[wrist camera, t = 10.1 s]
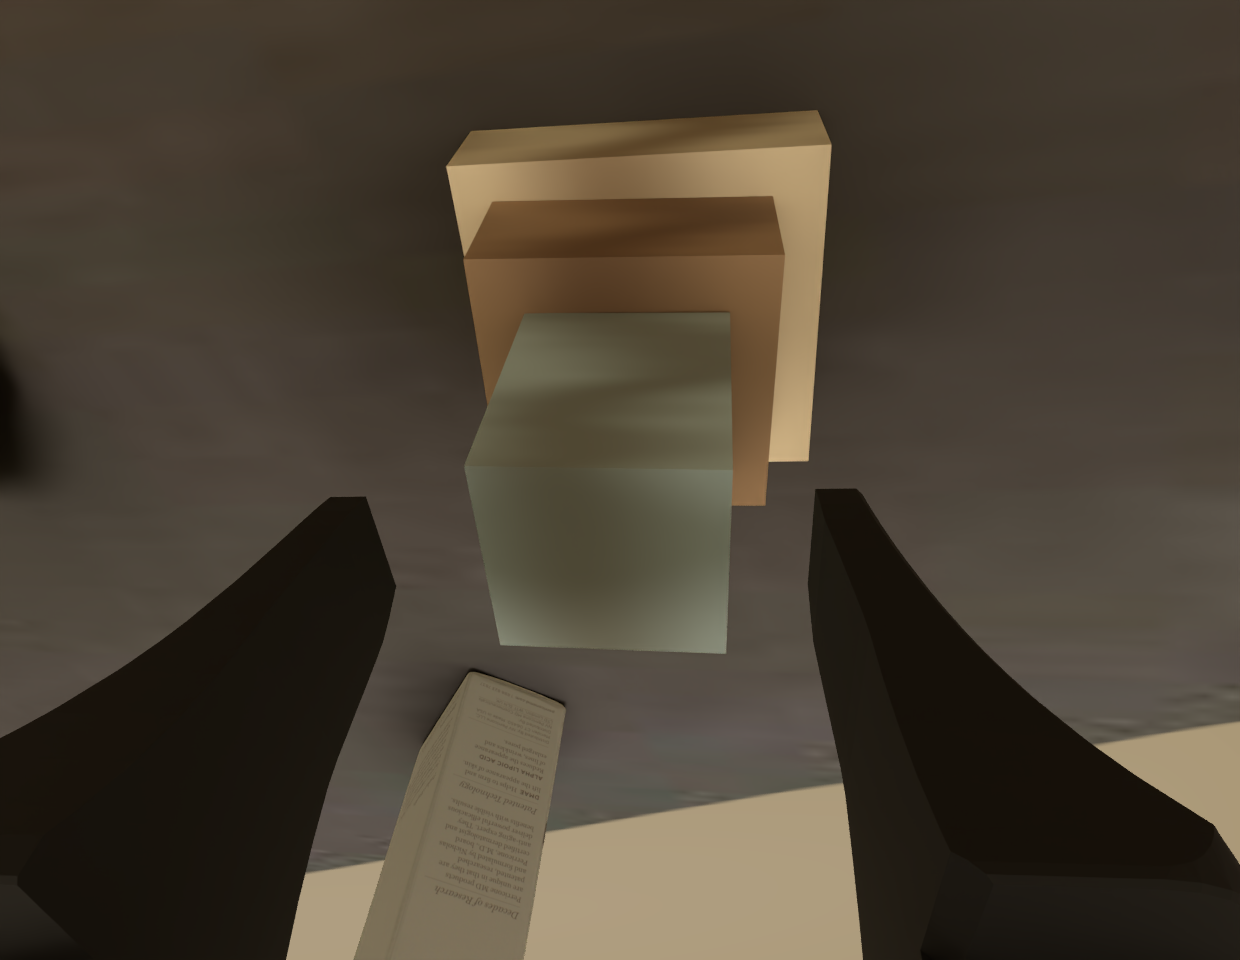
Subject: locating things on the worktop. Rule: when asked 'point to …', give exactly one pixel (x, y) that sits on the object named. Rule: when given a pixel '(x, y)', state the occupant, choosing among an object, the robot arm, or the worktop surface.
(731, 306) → the walnut block
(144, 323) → the worktop surface
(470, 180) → the birch slab
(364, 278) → the worktop surface
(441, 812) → the skincare box
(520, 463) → the greenish gray cube
